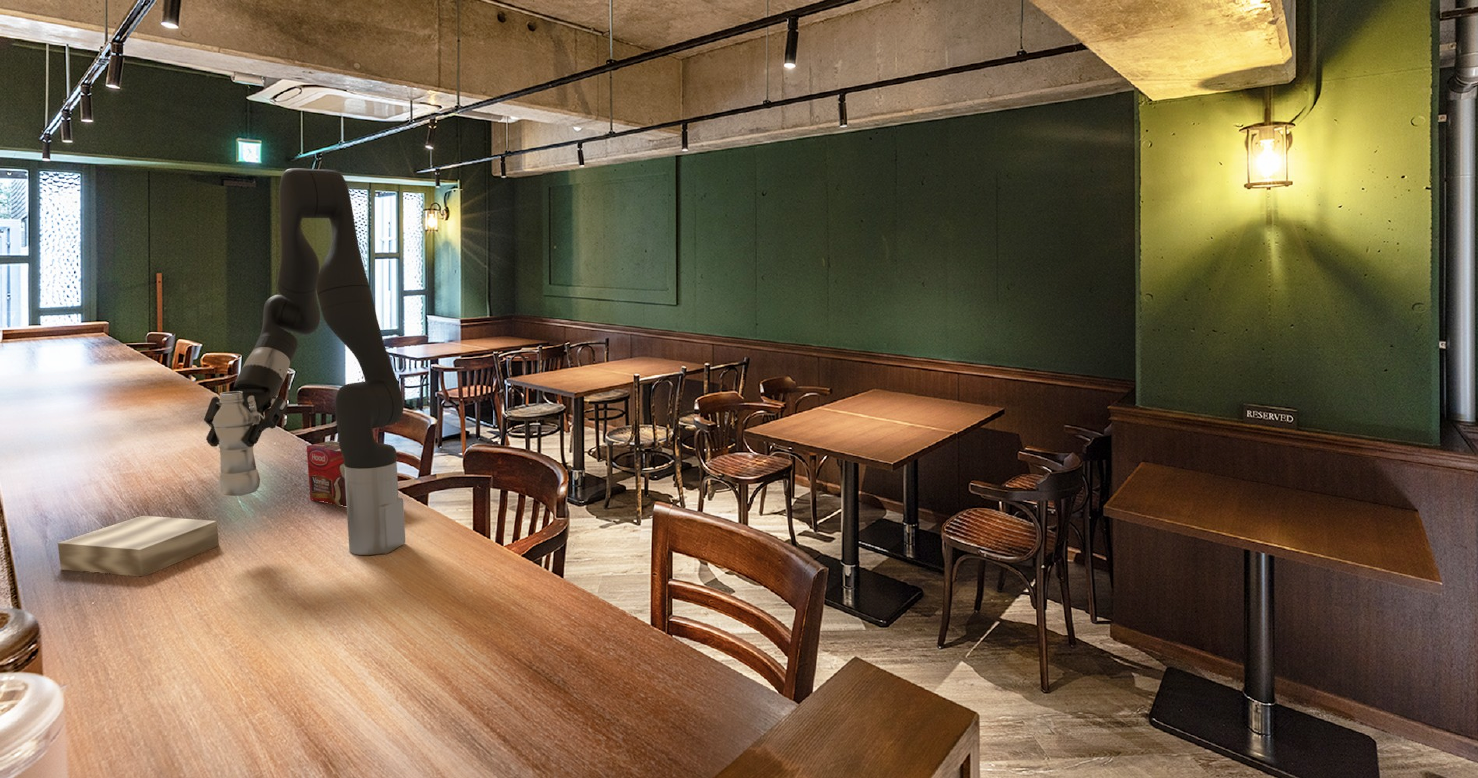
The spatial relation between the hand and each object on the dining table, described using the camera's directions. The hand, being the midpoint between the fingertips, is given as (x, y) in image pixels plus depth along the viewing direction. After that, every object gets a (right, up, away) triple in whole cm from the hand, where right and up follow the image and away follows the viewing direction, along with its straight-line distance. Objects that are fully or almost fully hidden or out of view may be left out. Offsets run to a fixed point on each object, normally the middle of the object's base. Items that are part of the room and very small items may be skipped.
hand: (230, 444), depth 139 cm
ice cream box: (+4, -17, +36) cm, 40 cm away
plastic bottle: (0, -10, +3) cm, 11 cm away
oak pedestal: (-16, -21, 0) cm, 27 cm away
